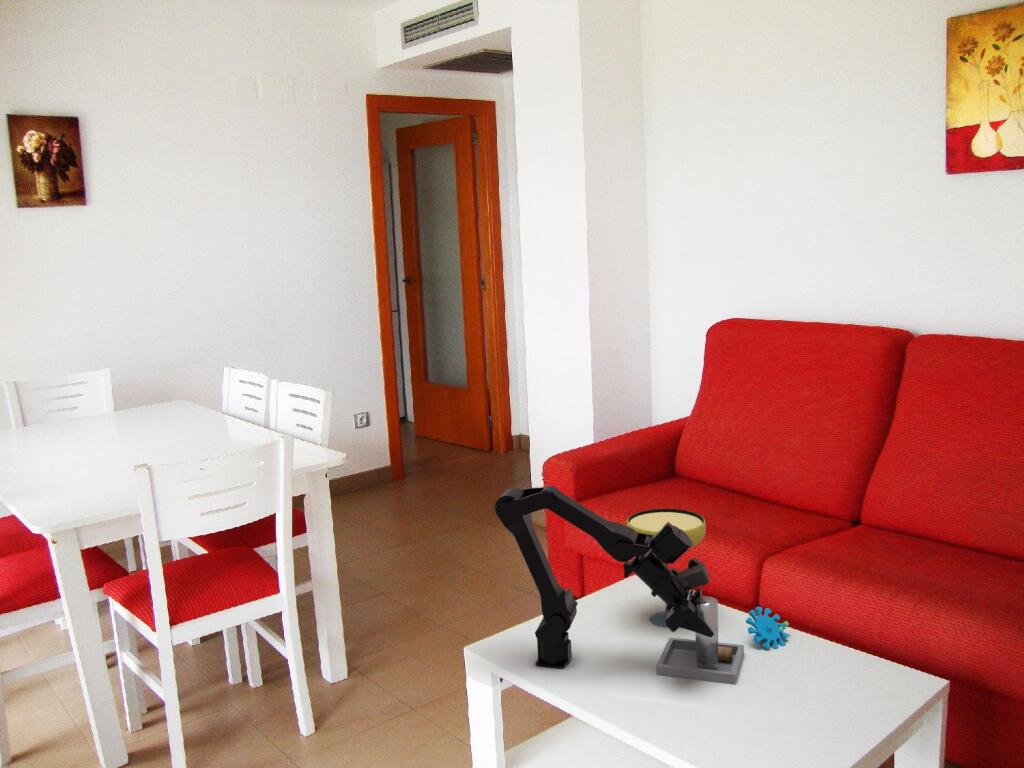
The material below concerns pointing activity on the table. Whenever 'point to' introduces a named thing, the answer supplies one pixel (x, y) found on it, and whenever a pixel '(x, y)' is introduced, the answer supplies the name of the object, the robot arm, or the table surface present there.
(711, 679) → the tray
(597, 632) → the table surface
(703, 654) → the sleeve
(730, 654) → the rod
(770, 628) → the gear
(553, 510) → the robot arm
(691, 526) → the cocktail glass
